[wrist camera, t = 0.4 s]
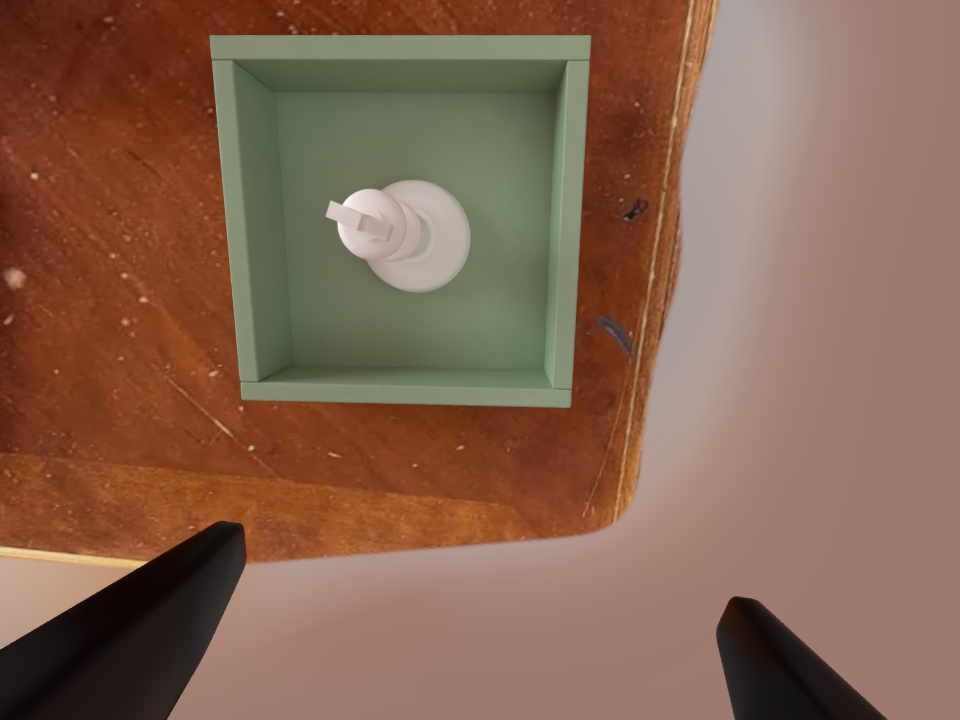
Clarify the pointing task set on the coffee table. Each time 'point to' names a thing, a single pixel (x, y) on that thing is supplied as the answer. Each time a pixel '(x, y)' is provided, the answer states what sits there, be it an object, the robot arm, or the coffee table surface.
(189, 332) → the coffee table surface
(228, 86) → the box
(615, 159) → the coffee table surface
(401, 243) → the chess piece
